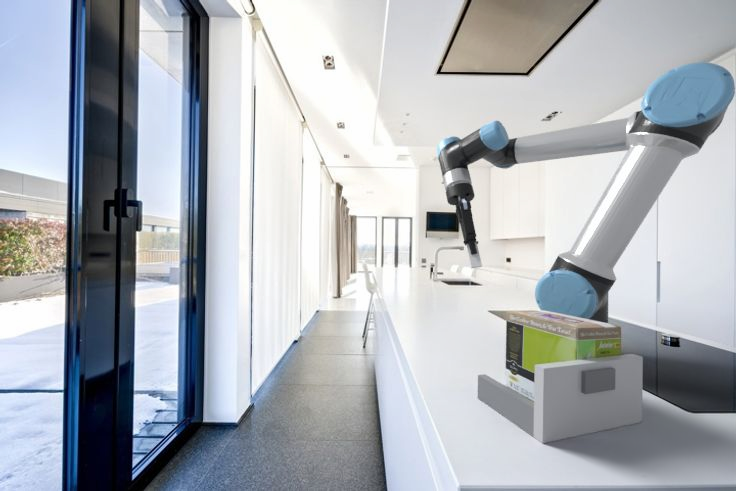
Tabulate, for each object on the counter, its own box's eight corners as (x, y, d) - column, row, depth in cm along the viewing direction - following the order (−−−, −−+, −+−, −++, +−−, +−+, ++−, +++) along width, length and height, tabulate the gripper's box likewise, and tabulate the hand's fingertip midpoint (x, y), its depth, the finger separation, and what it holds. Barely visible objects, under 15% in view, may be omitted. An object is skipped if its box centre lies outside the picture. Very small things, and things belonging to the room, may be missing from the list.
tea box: (623, 419, 49) (624, 324, 50) (575, 428, 46) (577, 327, 47) (543, 380, 64) (544, 307, 64) (502, 386, 61) (504, 309, 61)
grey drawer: (563, 385, 61) (563, 334, 62) (646, 423, 48) (647, 358, 48) (477, 398, 55) (478, 340, 55) (546, 446, 42) (547, 370, 42)
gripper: (445, 200, 97) (461, 274, 90) (444, 180, 85) (462, 263, 77) (470, 195, 95) (488, 269, 88) (473, 174, 83) (494, 258, 76)
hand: (476, 267), depth 83 cm, fingers closed
